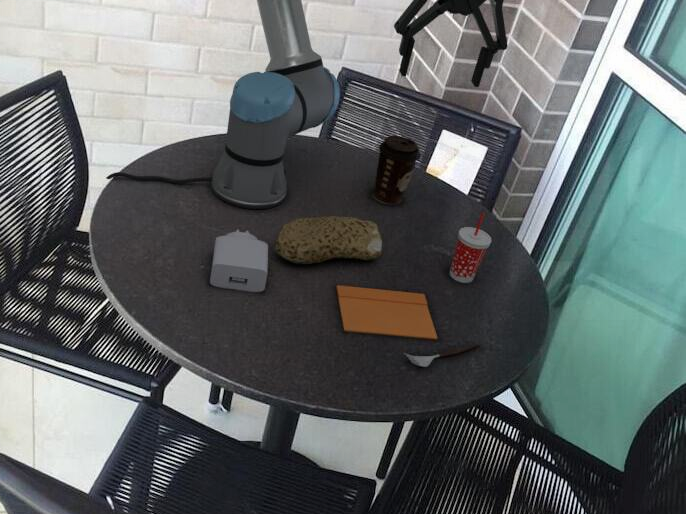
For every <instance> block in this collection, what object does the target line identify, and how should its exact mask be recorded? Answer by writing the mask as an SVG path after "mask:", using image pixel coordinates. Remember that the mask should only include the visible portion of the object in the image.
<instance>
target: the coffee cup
mask: <svg viewBox="0 0 686 514" xmlns="http://www.w3.org/2000/svg"><path fill="white" fill-rule="evenodd" d="M378 150H379V155H378V159H377V166H376V171H375V172H376V173H375V177H374V184H373V192H372V194H371V196H372V198H373V199H374V200H376V202H379V203H381V204H385V205H388V206H394V205H398V204H400V203H401V202H402V200H403V197H404V194H405V191H406V190H407V188H408V186H409V183H410V181H411V178H412V175H413V173H414V170H415V168H416V161H419V160H420V158H421V155H422V153H421V152H420V148H419V145H418V144H417V143H416V140H415V141H414V140H413V139H412V138H410V137H409V138H408V137H404V136H401V135H390V136H387V137H385V138H384V141H382V142H381V143H380V145H379V146H378Z"/></svg>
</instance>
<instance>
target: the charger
mask: <svg viewBox="0 0 686 514" xmlns="http://www.w3.org/2000/svg"><path fill="white" fill-rule="evenodd" d="M214 241H215V242H214V249H213V256H212V264H211V272H210V279H209V284H211V285H212V286H213V287H215V288H221V289H222V288H223V289H229V290H237V291H243V292H244V291H245V292H252V293H262V292H263V291H265V289H266V283H267V279H268V268H269V244H268V243H267V242H265V241H262V240H259V239H258V237H256V236H255V235H253V234H251V233H250V232H249V231H248V230H246V231H244V232H243V231H240V230H239V229H238V228H237V229H236V231H233V232H228V233H227V234H226V235H220V236H216V238H215V240H214Z"/></svg>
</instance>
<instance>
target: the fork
mask: <svg viewBox="0 0 686 514" xmlns="http://www.w3.org/2000/svg"><path fill="white" fill-rule="evenodd" d="M479 346H482V344H481V343H477V344H476V343H475V344H470V345H465V346H458V347H453V348H450V349H447V350H445V351H442V352H440V353H437V354H435V355H431V356H430V355H428V356H427V355H426V356H425V355H420V356H419V355H417V356H416V355H411V354H408V353H406V352H403V353H402V354H403V355H405V357H406V358H408V360H409V361H410V363H411V364H414V365H416V366H418V367H422V368H427V367H429V366H430V365H431V363H432V362H433V360H434V359H437V358H442V357H443V358H444V357H450V356H455V355H459V354H462V353H464V352H467V351H469V350H472V349H475V348H478V347H479Z"/></svg>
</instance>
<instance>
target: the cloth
mask: <svg viewBox="0 0 686 514" xmlns="http://www.w3.org/2000/svg"><path fill="white" fill-rule="evenodd" d="M336 293H337V299H338V304H339V311H340V315H341V316H340V317H341V321H342V328H343V331H344V332H348V333H349V332H351V333H361V334H362V333H363V334H371V335H383V336H392V337H393V336H394V337H403V338H404V337H406V338H414V339H415V338H416V339H425V340H426V339H427V340H438V335H437V332H436V328H435V326H434V323H433V319H432V317H431V313H430V310H429V307H428V301H427V298H426V295H425V293H419V292H409V291H398V290H388V289H379V288H369V287H359V286H349V285H339V284H338V285H336Z"/></svg>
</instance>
